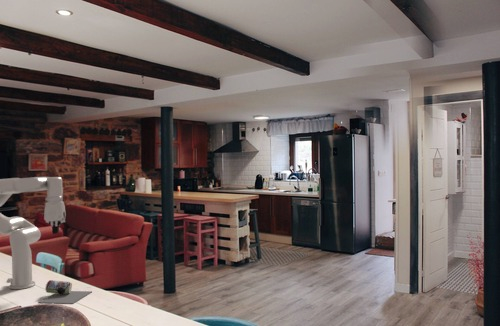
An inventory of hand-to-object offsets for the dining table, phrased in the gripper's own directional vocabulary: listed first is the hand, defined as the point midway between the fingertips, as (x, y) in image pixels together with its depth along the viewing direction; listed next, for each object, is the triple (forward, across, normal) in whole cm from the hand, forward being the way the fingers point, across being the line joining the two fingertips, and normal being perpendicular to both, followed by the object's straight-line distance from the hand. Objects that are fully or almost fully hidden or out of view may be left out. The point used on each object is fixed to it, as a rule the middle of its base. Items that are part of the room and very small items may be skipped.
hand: (55, 233), depth 225 cm
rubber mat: (+29, +16, -17) cm, 37 cm away
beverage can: (+25, +4, -15) cm, 30 cm away
